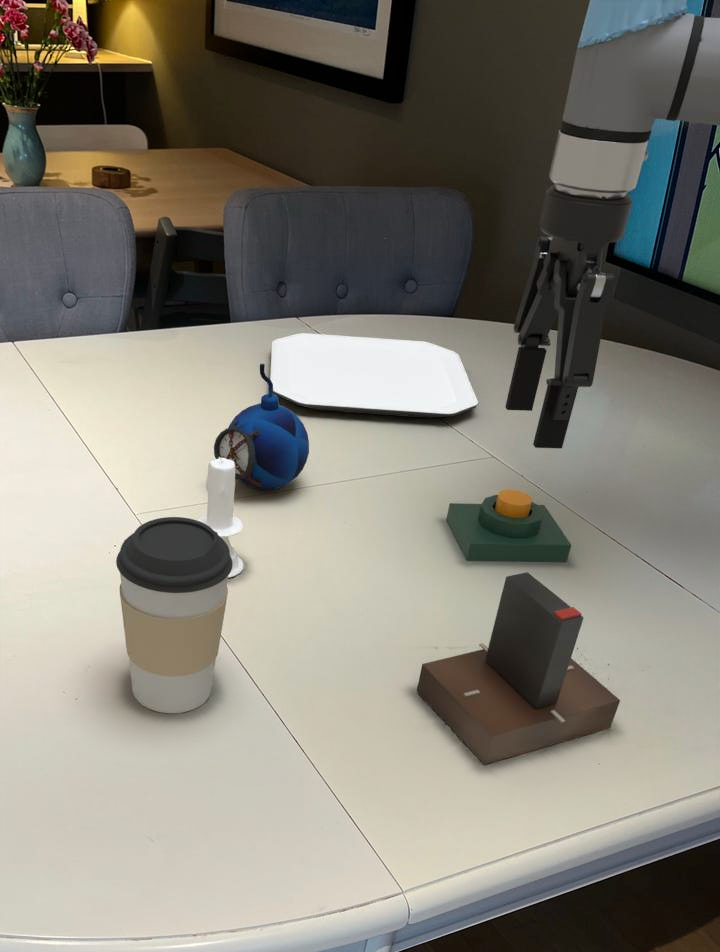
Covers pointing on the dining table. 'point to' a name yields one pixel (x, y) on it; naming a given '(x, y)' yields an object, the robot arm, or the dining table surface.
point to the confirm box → (506, 534)
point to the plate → (370, 375)
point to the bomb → (265, 443)
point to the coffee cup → (173, 610)
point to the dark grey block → (533, 639)
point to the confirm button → (513, 504)
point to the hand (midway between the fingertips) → (532, 426)
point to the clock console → (511, 707)
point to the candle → (223, 506)
